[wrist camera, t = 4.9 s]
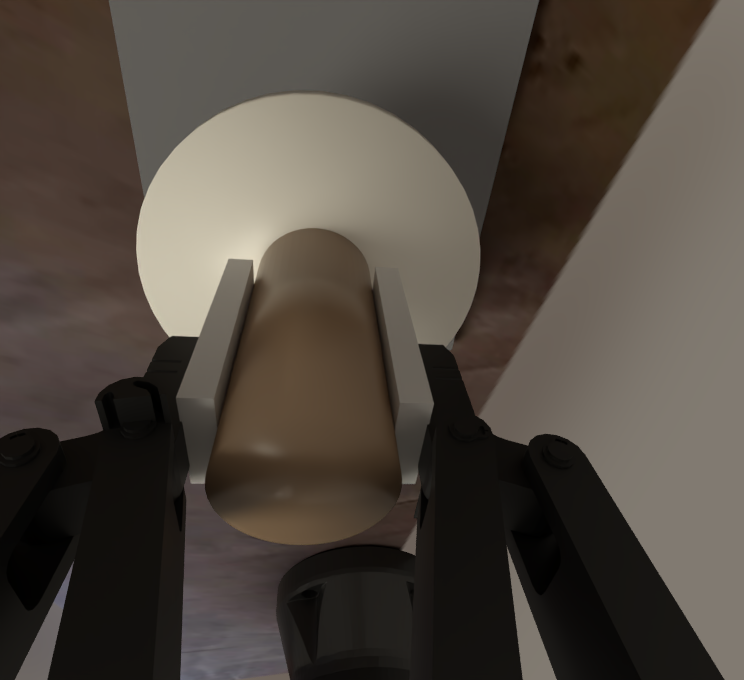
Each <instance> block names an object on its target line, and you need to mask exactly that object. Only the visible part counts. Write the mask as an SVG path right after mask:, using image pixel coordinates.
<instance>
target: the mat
mask: <svg viewBox="0 0 744 680" xmlns="http://www.w3.org/2000/svg"><path fill="white" fill-rule="evenodd" d="M538 2H539V0H109V4H110V10H111V15H112V21H113V26H114V32H115V38H116V43H117V49H118V54H119V60H120V65H121V71H122V76H123V82H124V88H125V93H126V99H127V104H128V110H129V115H130V121H131V126H132V132H133V138H134V143H135V149H136V154H137V160H138V165H139V171H140V177H141V182H142V188H143V193H144V199H145V196H146V193H147V191H148V188H149V186H150V184H151V182H152V180H153V179H154V177H155V175H156V173H157V172H158V170H159V168H160V166H161V165H162V164H163V163H164V161H165V160H166V159H167V158H168V156H169V155H170V154H171V153H172V151H173V150H174V149H175V148H176V147H177V146H178V145H179V144H180V143H181V142H182V141H183V140H184V139H185V138H186V137H187V136H188V135H189V134H190V133H192V132H193V131H194V130H195V129H196V128H197V127H198V126H199V125H200V124H202V123H203V122H205V121H206V120H208V119H209V118H211V117H212V116H214V115H215V114H217V113H219V112H220V111H222V110H224V109H226V108H228V107H230V106H233V105H235V104H237V103H239V102H242V101H244V100H247V99H251V98H254V97H258V96H261V95H265V94H269V93H276V92H284V91H292V90H310V91H325V92H331V93H337V94H343V95H348V96H351V97H354V98H357V99H360V100H363V101H367V102H370V103H372V104H374V105H376V106H378V107H380V108H382V109H385V110H387V111H389V112H391V113H393V114H394V115H396V116H397V117H399V118H400V119H402V120H403V121H405V122H406V123H408V124H409V125H411V126H412V127H414V128H415V129H416V130H417V131H418V132H419V133H420V134H421V135H423V136H424V137H425V138H426V139H427V140H428V141H429V142H430V143H431V144H432V145H433V146H434V147H435V148H436V150H437V151H438V152H439V153H440V154H441V156H442V157H443V158H444V159H445V160H446V162H447V163H448V164H449V166H450V167H451V168H452V170H453V172H454V173H455V175H456V176H457V178H458V180H459V181H460V183H461V185H462V186H463V188H464V190H465V192H466V194H467V197H468V199H469V202H470V204H471V206H472V209H473V212H474V216H475V220H476V223H477V227H478V233H479V238H480V234H481V230H482V226H483V222H484V218H485V214H486V210H487V206H488V202H489V198H490V194H491V190H492V186H493V182H494V178H495V174H496V170H497V166H498V162H499V158H500V154H501V150H502V146H503V142H504V138H505V134H506V130H507V126H508V122H509V118H510V114H511V110H512V106H513V102H514V98H515V94H516V90H517V86H518V82H519V78H520V74H521V70H522V66H523V62H524V58H525V54H526V50H527V46H528V42H529V38H530V34H531V30H532V26H533V22H534V18H535V14H536V10H537V6H538ZM169 338H170V337H169ZM454 338H455V336H454ZM454 338H453V339H452V340H451V342H450V343H449V344H448V345H447V346H446V348H447V349H448V350H452V346H453V342H454Z"/></svg>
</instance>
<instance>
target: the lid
mask: <svg viewBox="0 0 744 680" xmlns="http://www.w3.org/2000/svg"><path fill="white" fill-rule="evenodd" d="M136 253H137V261H138V269H139V275H140V278H141V282H142V285H143V289H144V293H145V295H146V297H147V300H148V302H149V304H150V306H151V309H152V311H153V313H154V315H155V316H156V318H157V319H158V321H159V323H160V324H161V326H162V328H163V329H164V331H165V332H166V333H167V334H168V336H169V337H171V336H188V337H199V335H200V333H201V330H202V328H203V325H204V322H205V320H206V317H207V314H208V312H209V309H210V306H211V304H212V301H213V299H214V296H215V293H216V291H217V288H218V285H219V283H220V280H221V278H222V275H223V272H224V270H225V267H226V264H227V262H228V259H246V260H253V269H254V287H253V291H252V295H251V299H250V303H249V307H248V311H247V315H246V318H245V322H244V326H243V330H242V334H241V338H240V342H239V346H238V350H237V354H236V358H235V361H234V365H233V369H232V373H231V377H230V381H229V385H228V389H227V393H226V397H225V401H224V405H223V408H222V412H221V416H220V420H219V424H218V428H217V432H216V436H215V440H214V444H213V448H212V451H211V455H210V459H209V463H208V467H207V471H206V476H205V490H206V494H207V498H208V500H209V502H210V504H211V506H212V507H213V509H214V510H215V511H216V513H217V514H218V515H219V516H220V517H221V518H222V519H223V520H224V521H226V522H227V523H228V524H230V525H231V526H233V527H234V528H236V529H237V530H239V531H241V532H243V533H245V534H248V535H250V536H253V537H256V538H258V539H262V540H266V541H269V542H275V543H281V544H290V545H313V544H322V543H329V542H334V541H338V540H342V539H345V538H349V537H351V536H354V535H356V534H359V533H361V532H363V531H365V530H367V529H369V528H370V527H372V526H373V525H375V524H376V523H378V522H379V521H380V520H382V519H383V518H384V517H385V516H386V515H387V514H388V513H389V512H390V511H391V509H392V508H393V507H394V505H395V504H396V502H397V500H398V498H399V495H400V492H401V488H402V474H401V467H400V461H399V455H398V448H397V442H396V436H395V429H394V423H393V417H392V410H391V404H390V398H389V391H388V385H387V379H386V372H385V366H384V360H383V353H382V347H381V341H380V334H379V328H378V322H377V315H376V309H375V303H374V296H373V282H374V273H375V267H387V268H398V270H399V274H400V278H401V281H402V285H403V289H404V293H405V297H406V300H407V304H408V308H409V312H410V315H411V319H412V323H413V327H414V330H415V334H416V338H417V342H418V344H435V345H444V346H445V347H446V346H447V345H448V344H449V343H450V342H451V340H452V339H453V338H454V336H455V335H456V333H457V332H458V330H459V328H460V327H461V325H462V324H463V322H464V320H465V318H466V316H467V313H468V311H469V309H470V307H471V304H472V301H473V298H474V295H475V292H476V288H477V283H478V277H479V272H480V242H479V233H478V227H477V223H476V220H475V216H474V212H473V209H472V206H471V204H470V202H469V199H468V197H467V194H466V192H465V190H464V188H463V186H462V185H461V183H460V181H459V180H458V178H457V176H456V175H455V173H454V172H453V170H452V168H451V167H450V166H449V164H448V163H447V162H446V160H445V159H444V158H443V157H442V156H441V154H440V153H439V152H438V151H437V150H436V148H435V147H434V146H433V145H432V144H431V143H430V142H429V141H428V140H427V139H426V138H425V137H424V136H423V135H421V134H420V133H419V132H418V131H417V130H416V129H415V128H414V127H412V126H411V125H409V124H408V123H406V122H405V121H403V120H402V119H400V118H399V117H397V116H396V115H394V114H393V113H391V112H389V111H387V110H385V109H382V108H380V107H378V106H376V105H374V104H372V103H370V102H367V101H363V100H360V99H357V98H354V97H351V96H348V95H343V94H337V93H331V92H325V91H310V90H292V91H284V92H276V93H269V94H265V95H261V96H258V97H254V98H251V99H247V100H244V101H242V102H239V103H237V104H235V105H233V106H230V107H228V108H226V109H224V110H222V111H220V112H219V113H217V114H215V115H214V116H212V117H211V118H209V119H208V120H206V121H205V122H203V123H202V124H200V125H199V126H198V127H197V128H196V129H195V130H194V131H193V132H192V133H190V134H189V135H188V136H187V137H186V138H185V139H184V140H183V141H182V142H181V143H180V144H179V145H178V146H177V147H176V148H175V149H174V150H173V151H172V153H171V154H170V155H169V156H168V158H167V159H166V160H165V161H164V163H163V164H162V165H161V166H160V168H159V170H158V172H157V173H156V175H155V177H154V179H153V180H152V182H151V184H150V186H149V188H148V191H147V193H146V196H145V199H144V202H143V204H142V207H141V211H140V217H139V222H138V227H137V246H136Z"/></svg>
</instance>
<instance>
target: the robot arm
mask: <svg viewBox="0 0 744 680" xmlns="http://www.w3.org/2000/svg"><path fill="white" fill-rule="evenodd" d="M253 287H254V269H253V260H246V259H228V262H227V264H226V267H225V270H224V272H223V275H222V278H221V280H220V283H219V285H218V288H217V291H216V293H215V296H214V299H213V301H212V304H211V306H210V309H209V312H208V314H207V317H206V320H205V322H204V325H203V328H202V330H201V333H200V335H199V337H188V336H171V337H170V338H168V339H167V340H166V341H165V342H164V343H162V344H161V345H160V346H159V347H158V348H157V350H156V353H155V355H154V357H153V359H152V362H151V363H150V365H149V367H148V369H147V373H145V375H144V377H132V378H127V379H122V380H119V381H117V382H115V383H113V384H110V385H108V386H107V387H106V388H105V389H103V390H102V391H101V392H100V393H99V394H98V396H97V398H96V400H95V404H96V408H97V411H98V414H99V417H100V421H101V424H102V427H103V431H101V432H99V433H95V434H92V435H88V436H84V437H80V438H75V439H70V440H65V441H61V442H60V441H59V438H58V436H57V435H56V434H55V433H53V432H52V431H51V430H47V429H42V428H30V429H22V430H19V431H16V432H13V433H9V434H7V435H6V436H4V437H2V438H0V680H15V678H16V676H17V674H18V672H19V670H20V668H21V666H22V664H23V662H24V660H25V658H26V656H27V654H28V652H29V650H30V648H31V646H32V644H33V642H34V640H35V638H36V636H37V633H38V632H39V630H40V628H41V626H42V624H43V622H44V619H45V617H46V615H47V614H48V611H49V609H50V607H51V606H52V604H53V602H54V600H55V598H56V596H57V593H58V591H59V589H60V587H61V585H62V583H63V581H64V579H65V577H66V575H67V573H68V571H69V569H70V567H71V565H72V563H73V561H74V564H73V569H72V573H71V578H70V582H69V586H68V591H67V595H66V600H65V604H64V609H63V613H62V618H61V622H60V626H59V631H58V635H57V640H56V645H55V649H54V653H53V658H52V662H51V666H50V671H49V675H48V680H180V668H181V638H182V609H183V579H184V550H185V521H186V496H185V491H184V484H185V480H186V477H187V473H188V470H189V475H190V481H191V483H202V484H205V476H206V471H207V467H208V463H209V459H210V455H211V451H212V448H213V444H214V440H215V436H216V432H217V428H218V424H219V420H220V416H221V412H222V408H223V405H224V401H225V397H226V393H227V389H228V385H229V381H230V377H231V373H232V369H233V365H234V361H235V358H236V354H237V350H238V346H239V342H240V338H241V334H242V330H243V326H244V322H245V318H246V315H247V311H248V307H249V303H250V299H251V295H252V291H253ZM373 296H374V303H375V309H376V315H377V322H378V328H379V334H380V341H381V347H382V353H383V360H384V366H385V372H386V379H387V385H388V391H389V398H390V404H391V410H392V417H393V423H394V429H395V436H396V442H397V448H398V455H399V461H400V467H401V474H402V484H415V483H416V479H417V474H418V470H419V475H420V480H421V485H422V486H421V490H420V494H419V499H418V503H417V507H416V511H415V515H414V518H417V538H416V539H417V540H416V556H415V555H413V554H410V553H407V552H404V551H401V550H396V549H391V548H384V547H350V548H342V549H337V550H332V551H328V552H324V553H321V554H318V555H315V556H313V557H310V558H308V559H306V560H304V561H302V562H300V563H299V564H297V565H295V566H294V567H293V568H291V569H290V570H289V571H288V572H287V573H286V574H285V575H284V576H283V578H282V579H281V581H280V583H279V587H278V595H277V607H276V616H277V623H278V627H279V632H280V636H281V641H282V645H283V650H284V654H285V659H286V663H287V668H288V672H289V676H290V680H523V679H522V671H521V663H520V654H519V646H518V638H517V629H516V621H515V612H514V604H513V596H512V588H511V579H510V571H509V563H508V555H507V547H508V550H509V553H510V555H511V558H512V560H513V563H514V566H515V569H516V571H517V574H518V577H519V579H520V582H521V585H522V587H523V590H524V593H525V596H526V598H527V601H528V604H529V606H530V609H531V612H532V614H533V617H534V620H535V622H536V625H537V628H538V630H539V633H540V636H541V638H542V641H543V644H544V646H545V649H546V651H547V654H548V657H549V660H550V663H551V665H552V668H553V671H554V673H555V676H556V679H557V680H724V678H723V677H722V675H721V673H720V672H719V670H718V669H717V667H716V665H715V664H714V662H713V661H712V659H711V657H710V656H709V654H708V652H707V651H706V649H705V648H704V646H703V644H702V643H701V641H700V640H699V638H698V636H697V635H696V633H695V632H694V630H693V628H692V627H691V625H690V623H689V622H688V620H687V619H686V617H685V615H684V614H683V612H682V610H681V609H680V607H679V606H678V604H677V602H676V601H675V599H674V597H673V596H672V594H671V593H670V591H669V589H668V588H667V586H666V585H665V583H664V581H663V580H662V578H661V577H660V575H659V574H658V572H657V570H656V569H655V567H654V565H653V564H652V562H651V560H650V559H649V557H648V556H647V554H646V552H645V551H644V549H643V547H642V546H641V544H640V543H639V541H638V539H637V538H636V536H635V534H634V533H633V531H632V530H631V528H630V527H629V525H628V523H627V522H626V520H625V518H624V517H623V515H622V513H621V512H620V510H619V509H618V507H617V506H616V504H615V502H614V501H613V499H612V497H611V496H610V494H609V493H608V491H607V489H606V488H605V486H604V485H603V483H602V481H601V479H600V478H599V476H598V475H597V473H596V471H595V470H594V468H593V467H592V465H591V463H590V462H589V460H588V458H587V457H586V455H585V454H584V453H583V452H582V451H581V450H580V448H579V447H578V446H577V445H575V444H574V443H572V442H570V441H569V440H568V439H565V438H563V437H560V436H557V435H551V434H543V435H537V436H536V437H534V438H533V439H532V440H530V442H529V445H528V446H527V445H523V444H519V443H516V442H512V441H508V440H505V439H502V438H499V437H497V436H495V435H493V434H492V431H491V428H490V427H489V426H488V425H487V424H486V423H485V422H484V420H482V419H480V418H479V417H477V416H475V413H474V410H473V408H472V405H471V402H470V399H469V396H468V394H467V391H466V388H465V385H464V382H463V380H462V377H461V374H460V371H459V370H458V366H457V363H456V360H455V357H454V355H453V354H452V353H451V352H450V351H449V350H448V349H447V348H446V347H445V346H444V345H435V344H418V342H417V338H416V334H415V330H414V327H413V323H412V319H411V315H410V312H409V308H408V304H407V300H406V297H405V293H404V289H403V285H402V281H401V278H400V274H399V270H398V268H387V267H375V273H374V282H373ZM506 545H507V546H506ZM74 559H75V560H74Z"/></svg>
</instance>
